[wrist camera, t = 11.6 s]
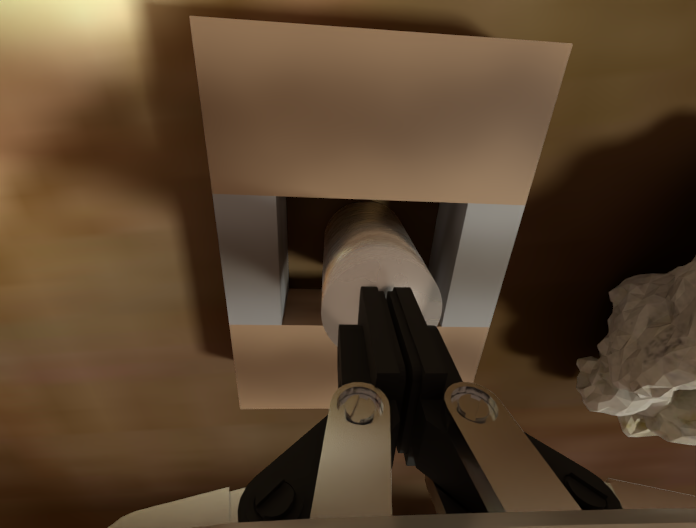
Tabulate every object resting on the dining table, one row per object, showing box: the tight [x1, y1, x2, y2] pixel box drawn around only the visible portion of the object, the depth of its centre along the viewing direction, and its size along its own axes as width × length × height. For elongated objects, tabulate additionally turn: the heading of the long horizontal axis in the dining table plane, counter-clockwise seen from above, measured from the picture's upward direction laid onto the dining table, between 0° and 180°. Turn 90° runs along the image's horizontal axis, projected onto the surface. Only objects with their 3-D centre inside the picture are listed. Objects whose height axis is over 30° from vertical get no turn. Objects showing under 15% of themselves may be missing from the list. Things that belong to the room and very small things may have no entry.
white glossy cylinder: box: [321, 201, 442, 347], centre depth 15 cm, size 4×4×7 cm
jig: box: [189, 16, 573, 409], centre depth 17 cm, size 18×13×4 cm
